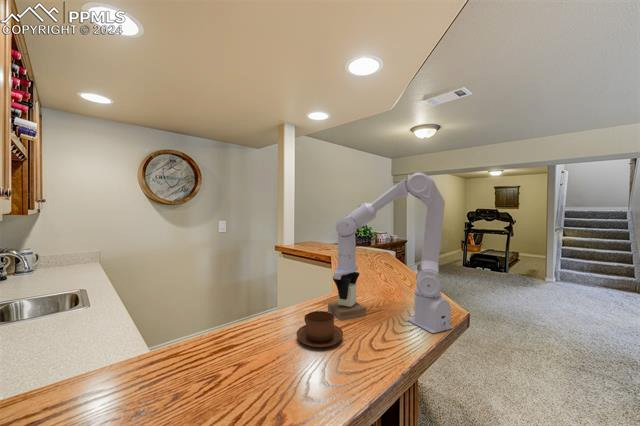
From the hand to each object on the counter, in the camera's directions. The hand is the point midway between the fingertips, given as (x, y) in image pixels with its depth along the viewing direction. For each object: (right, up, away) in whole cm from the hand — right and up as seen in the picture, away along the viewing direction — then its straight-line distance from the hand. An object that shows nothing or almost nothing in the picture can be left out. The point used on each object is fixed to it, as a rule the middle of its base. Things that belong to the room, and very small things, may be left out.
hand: (346, 296), depth 86 cm
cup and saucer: (-9, -6, -17) cm, 20 cm away
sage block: (0, -2, 0) cm, 2 cm away
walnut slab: (0, -6, 0) cm, 6 cm away
